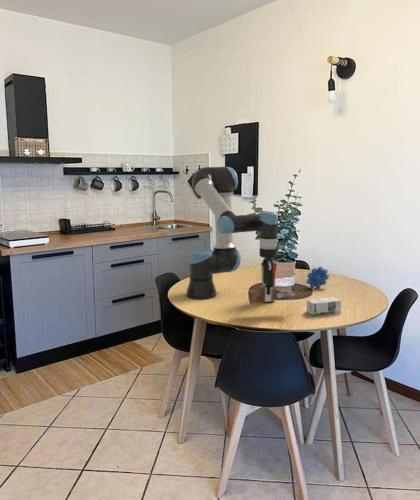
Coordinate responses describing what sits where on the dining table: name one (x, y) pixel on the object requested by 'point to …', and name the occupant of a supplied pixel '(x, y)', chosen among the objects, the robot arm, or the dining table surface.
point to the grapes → (317, 277)
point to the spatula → (259, 295)
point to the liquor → (272, 278)
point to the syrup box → (324, 306)
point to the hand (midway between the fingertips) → (267, 299)
